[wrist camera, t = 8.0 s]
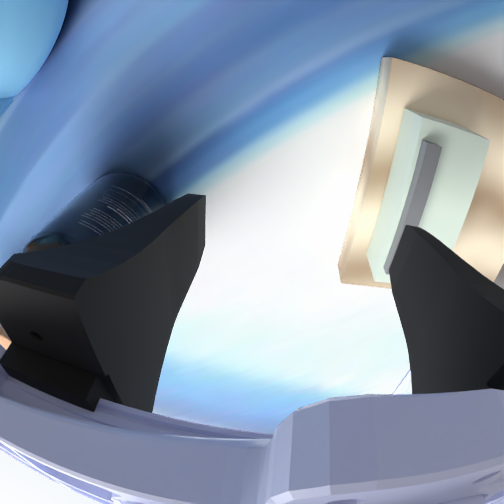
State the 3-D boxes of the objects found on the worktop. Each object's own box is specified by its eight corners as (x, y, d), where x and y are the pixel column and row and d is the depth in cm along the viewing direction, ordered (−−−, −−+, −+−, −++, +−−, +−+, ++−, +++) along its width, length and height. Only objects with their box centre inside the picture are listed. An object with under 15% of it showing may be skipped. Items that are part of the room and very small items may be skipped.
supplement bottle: (75, 185, 20) (-37, 289, 11) (149, 156, 19) (26, 272, 9) (114, 261, 24) (38, 380, 14) (187, 245, 22) (121, 392, 12)
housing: (522, 287, 21) (531, 301, 19) (337, 264, 22) (341, 283, 20) (579, 148, 13) (594, 157, 11) (381, 57, 14) (392, 57, 12)
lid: (422, 261, 18) (437, 294, 16) (366, 254, 19) (376, 288, 16) (466, 127, 13) (496, 144, 11) (403, 107, 13) (428, 119, 11)
